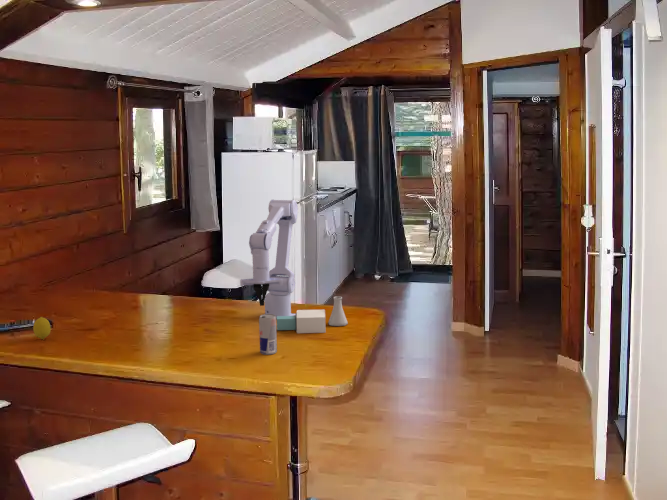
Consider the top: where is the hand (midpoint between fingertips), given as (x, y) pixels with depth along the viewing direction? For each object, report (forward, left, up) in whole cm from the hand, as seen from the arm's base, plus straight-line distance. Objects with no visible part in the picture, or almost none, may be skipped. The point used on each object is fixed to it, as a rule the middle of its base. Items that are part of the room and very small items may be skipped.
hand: (262, 305), depth 265 cm
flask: (+20, +19, -9) cm, 29 cm away
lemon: (-60, -46, -9) cm, 76 cm away
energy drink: (+17, -21, -9) cm, 28 cm away
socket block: (+14, +9, -9) cm, 19 cm away
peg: (+8, +5, -9) cm, 13 cm away
